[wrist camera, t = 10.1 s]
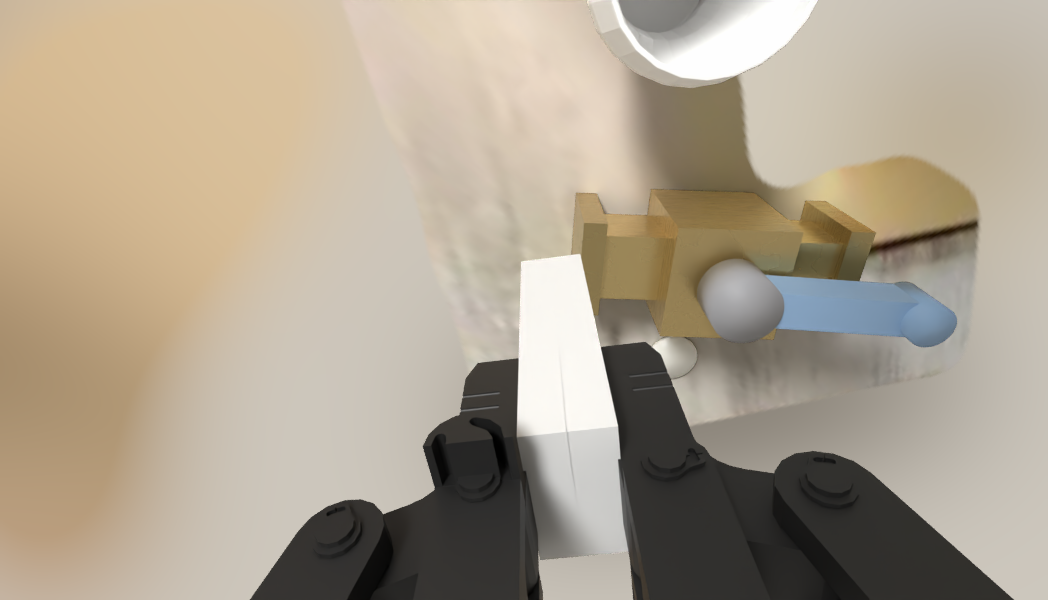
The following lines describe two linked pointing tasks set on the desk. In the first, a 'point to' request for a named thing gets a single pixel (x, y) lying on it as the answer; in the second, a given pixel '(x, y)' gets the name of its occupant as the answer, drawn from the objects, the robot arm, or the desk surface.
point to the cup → (696, 35)
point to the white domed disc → (676, 355)
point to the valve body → (707, 249)
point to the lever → (817, 306)
